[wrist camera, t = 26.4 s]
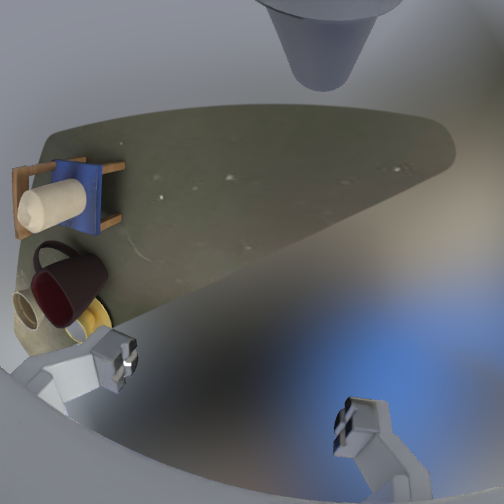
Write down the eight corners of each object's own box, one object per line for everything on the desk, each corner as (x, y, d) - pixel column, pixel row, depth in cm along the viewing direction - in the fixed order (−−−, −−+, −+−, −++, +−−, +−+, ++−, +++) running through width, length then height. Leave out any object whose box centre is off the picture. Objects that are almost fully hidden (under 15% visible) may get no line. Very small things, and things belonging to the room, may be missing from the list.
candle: (75, 170, 36) (22, 183, 26) (92, 202, 37) (40, 222, 27) (57, 192, 37) (7, 209, 28) (73, 222, 39) (24, 244, 29)
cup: (121, 340, 54) (107, 356, 49) (83, 338, 57) (69, 352, 52) (98, 286, 50) (80, 300, 45) (61, 290, 53) (45, 302, 48)
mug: (96, 302, 52) (57, 334, 41) (58, 243, 50) (14, 266, 39) (124, 281, 49) (82, 316, 38) (81, 216, 46) (32, 238, 35)
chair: (126, 160, 41) (54, 175, 27) (122, 222, 45) (57, 256, 31) (81, 154, 42) (11, 168, 29) (79, 211, 46) (15, 238, 32)
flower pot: (68, 306, 55) (43, 326, 47) (51, 316, 59) (28, 334, 51) (47, 269, 53) (20, 286, 45) (31, 282, 56) (7, 298, 48)
